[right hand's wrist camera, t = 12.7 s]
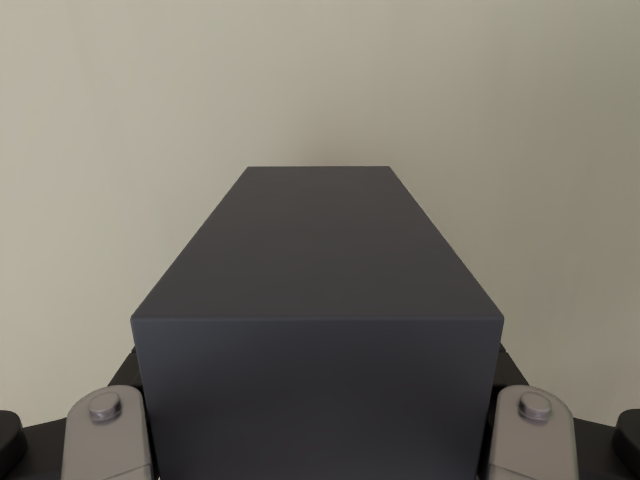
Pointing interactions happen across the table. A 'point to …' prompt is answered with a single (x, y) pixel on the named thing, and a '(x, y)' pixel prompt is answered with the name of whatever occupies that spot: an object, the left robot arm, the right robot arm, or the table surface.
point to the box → (317, 337)
